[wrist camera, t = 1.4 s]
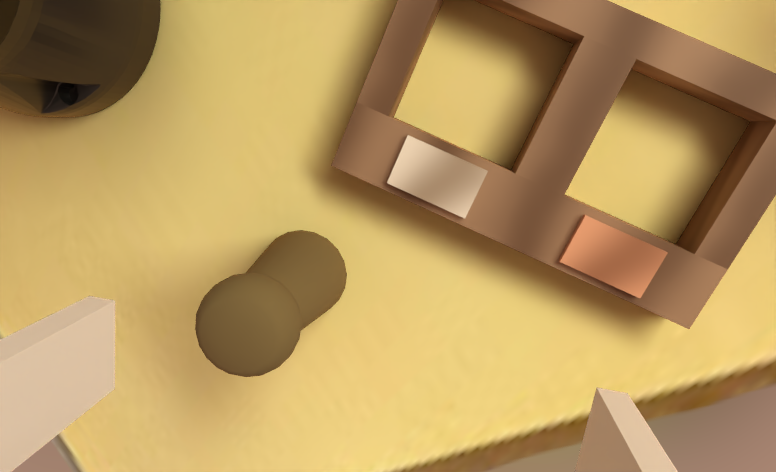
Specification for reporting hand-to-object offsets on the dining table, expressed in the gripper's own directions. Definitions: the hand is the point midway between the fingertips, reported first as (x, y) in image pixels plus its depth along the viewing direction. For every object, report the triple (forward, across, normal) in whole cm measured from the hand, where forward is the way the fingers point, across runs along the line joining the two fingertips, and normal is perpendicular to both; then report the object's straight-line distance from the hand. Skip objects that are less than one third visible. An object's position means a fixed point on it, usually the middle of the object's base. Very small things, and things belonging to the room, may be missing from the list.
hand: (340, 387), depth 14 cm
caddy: (+20, +8, +7) cm, 23 cm away
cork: (+20, -6, -4) cm, 22 cm away
